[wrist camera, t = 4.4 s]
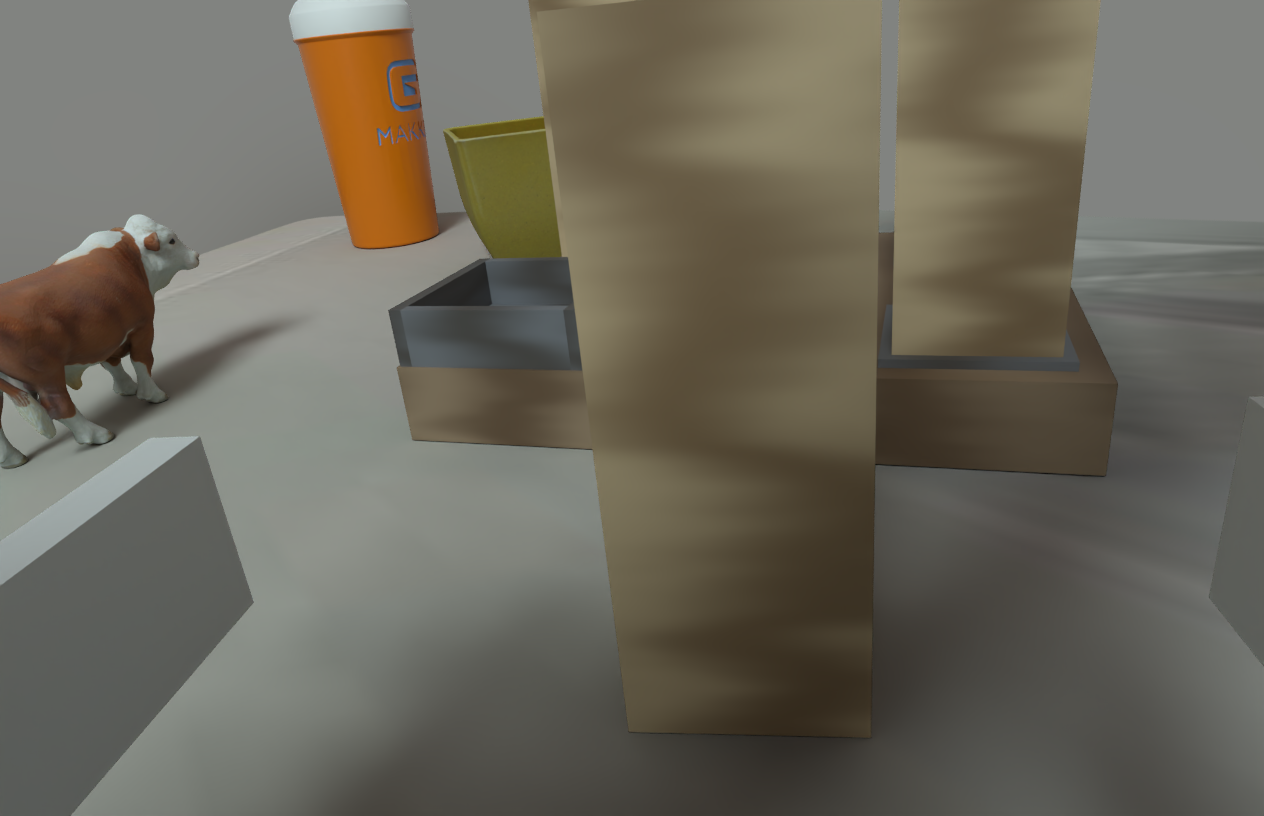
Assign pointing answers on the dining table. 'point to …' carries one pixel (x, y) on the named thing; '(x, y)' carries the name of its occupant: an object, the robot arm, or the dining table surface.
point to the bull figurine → (85, 326)
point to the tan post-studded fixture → (907, 269)
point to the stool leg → (728, 346)
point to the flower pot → (507, 186)
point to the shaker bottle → (370, 115)
